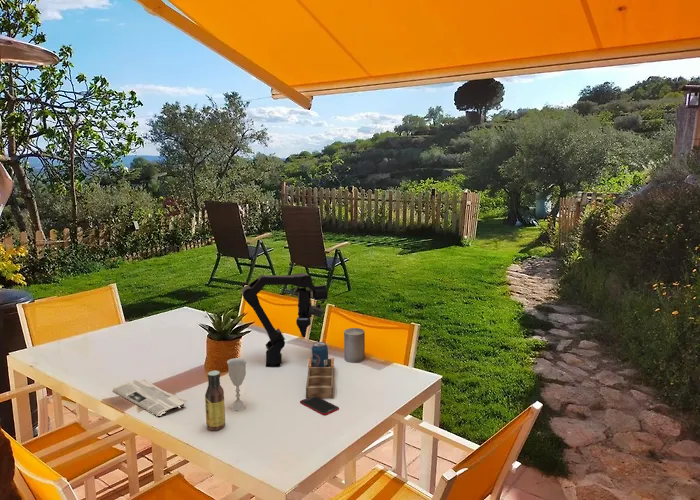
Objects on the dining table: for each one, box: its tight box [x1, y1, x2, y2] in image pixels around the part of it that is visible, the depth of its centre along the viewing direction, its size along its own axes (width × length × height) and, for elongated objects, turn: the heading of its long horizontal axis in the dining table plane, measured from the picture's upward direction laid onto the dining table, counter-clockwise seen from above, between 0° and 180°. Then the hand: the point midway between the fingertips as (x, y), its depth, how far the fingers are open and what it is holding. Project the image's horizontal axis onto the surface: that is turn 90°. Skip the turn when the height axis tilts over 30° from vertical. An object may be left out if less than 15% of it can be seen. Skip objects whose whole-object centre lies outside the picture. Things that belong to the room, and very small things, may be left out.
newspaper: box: [112, 379, 188, 417], centre depth 191 cm, size 35×12×4 cm, turn 51°
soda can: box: [311, 341, 329, 367], centre depth 216 cm, size 7×7×12 cm
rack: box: [305, 357, 335, 400], centre depth 207 cm, size 11×30×5 cm, turn 2°
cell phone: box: [299, 397, 340, 416], centre depth 187 cm, size 8×15×1 cm, turn 44°
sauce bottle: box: [204, 370, 226, 431], centre depth 169 cm, size 7×6×20 cm
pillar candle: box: [343, 327, 366, 364], centre depth 232 cm, size 10×10×15 cm
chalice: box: [226, 357, 248, 412], centre depth 183 cm, size 7×7×18 cm
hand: (304, 333), depth 229 cm, fingers open, 9 cm apart
